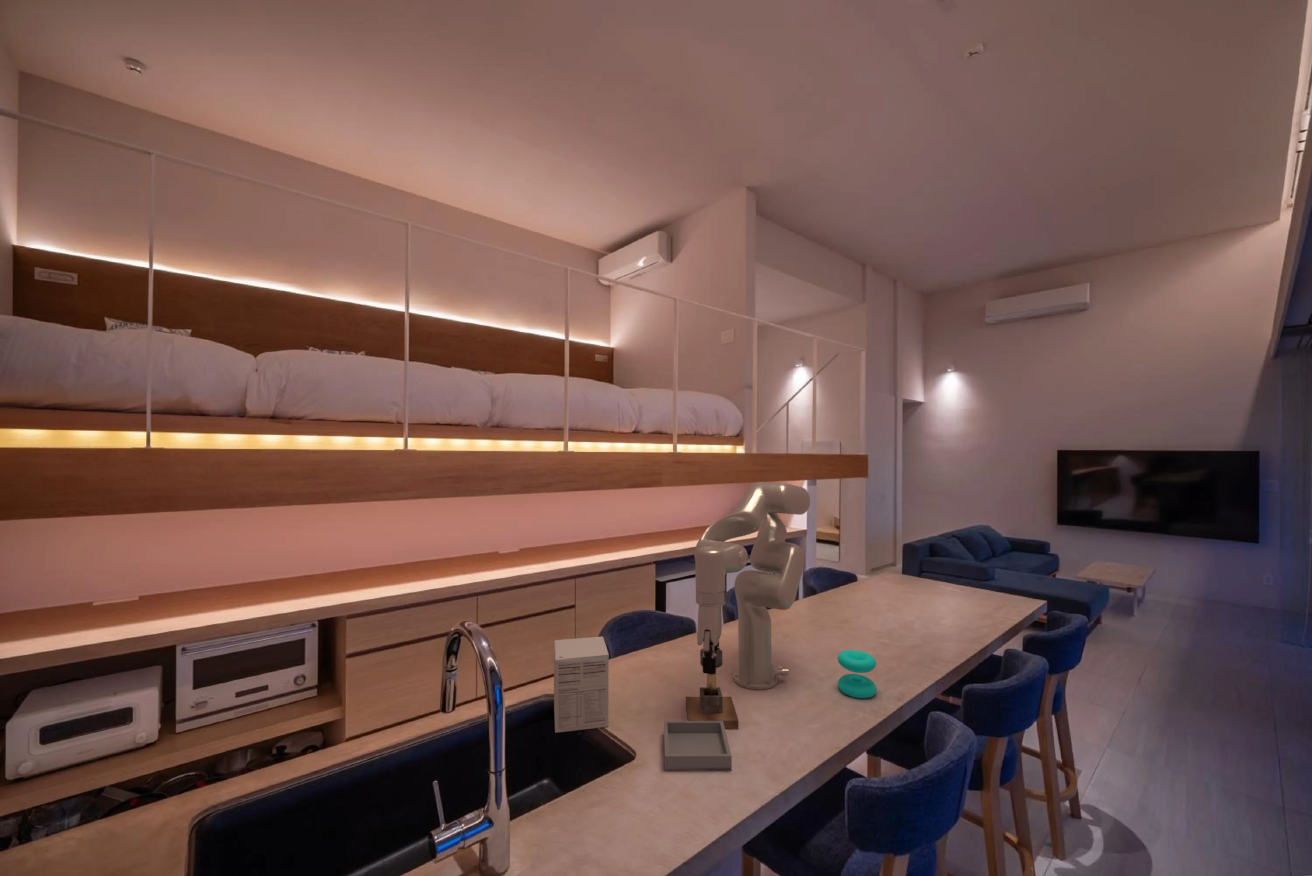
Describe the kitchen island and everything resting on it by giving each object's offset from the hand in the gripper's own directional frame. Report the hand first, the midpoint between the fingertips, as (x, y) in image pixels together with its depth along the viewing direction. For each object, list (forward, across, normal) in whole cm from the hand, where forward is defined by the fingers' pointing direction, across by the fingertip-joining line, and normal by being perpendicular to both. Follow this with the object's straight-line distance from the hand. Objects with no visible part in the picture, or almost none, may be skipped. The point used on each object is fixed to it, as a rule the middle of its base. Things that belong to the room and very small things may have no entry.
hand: (711, 667), depth 130 cm
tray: (+12, +16, -1) cm, 20 cm away
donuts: (+13, -23, +37) cm, 45 cm away
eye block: (+12, 0, 0) cm, 12 cm away
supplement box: (+12, +9, -32) cm, 35 cm away
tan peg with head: (+9, 0, 0) cm, 9 cm away
